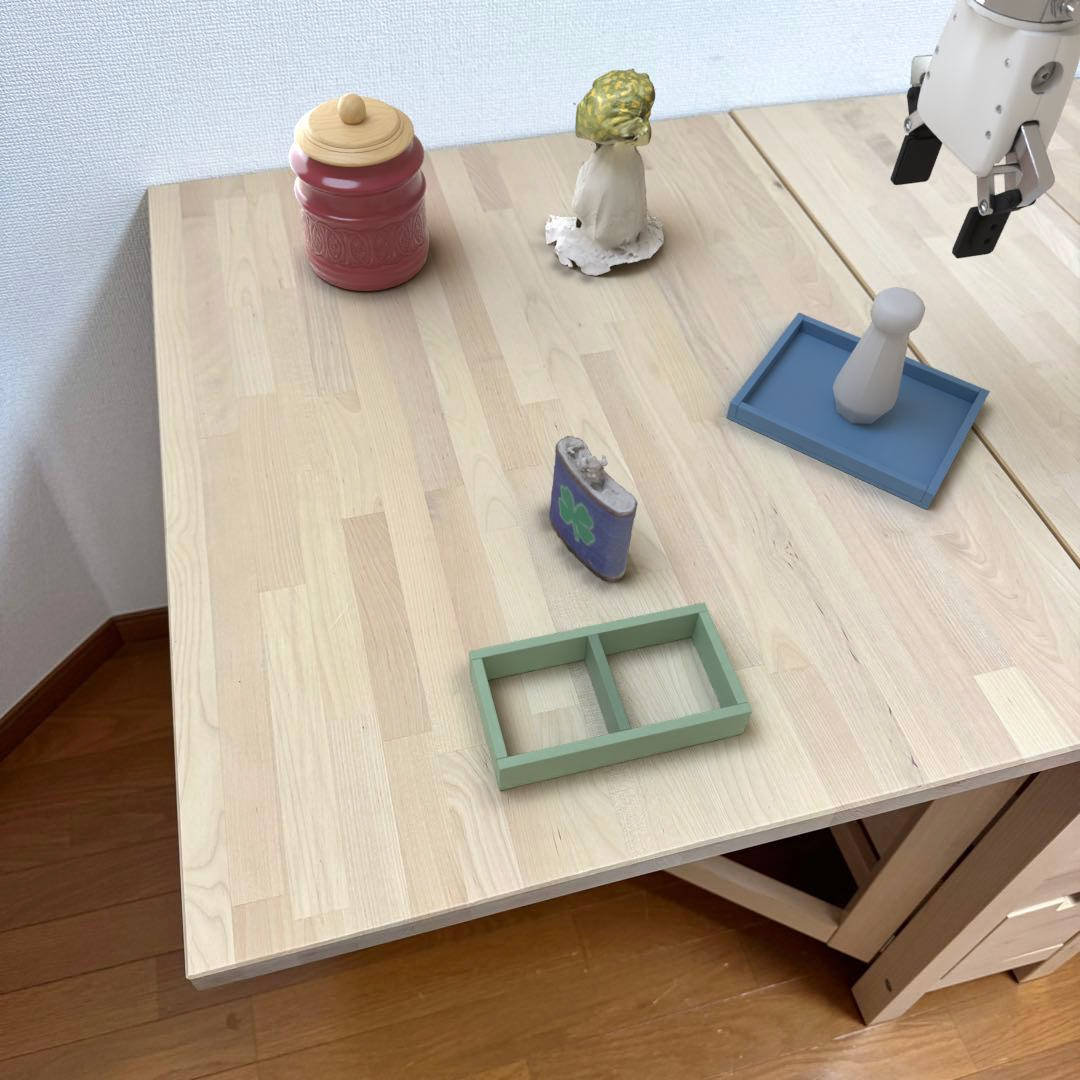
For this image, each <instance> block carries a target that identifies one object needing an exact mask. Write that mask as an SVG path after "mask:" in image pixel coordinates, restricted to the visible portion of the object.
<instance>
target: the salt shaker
mask: <svg viewBox="0 0 1080 1080" xmlns="http://www.w3.org/2000/svg"><path fill="white" fill-rule="evenodd" d="M925 313H926V306H925V303H924V300H923V299H922V297H920V296H919V295H918V294H917V293H916V292H914V291H913V290H910V289H908V288H905V287H900V286H895V287H888V288H885V289H883V290H881V291H879V292H878V293H877V294H876V296H875V298H874V299H873V302H872V304H871V308H870V313H869V314H870V319H871V322H870V324H869V326H868V327H867V328H866V330H865V332H864V333H863V334H862V336H861V337H860V338H861V339H860V341H859V343H858V344H857V346H856V347H855V349H854V350H853V352H852V354H851V355H850V357H849V358H848V360H847V361H846V363H845V365H844V366H843V368H842V369H841V371H840V372H839V374H838V375H837V378H836V380H835V382H834V384H833V392H834V396H835V402H836V409H837V412H838V413H839V414H840V415H841V416H843V417H844V418H845V419H847V420H848V421H849V422H851V423H857V424H872V423H873V422H874V421H875V420H877V419H878V418H879V417H881V416H882V415H883V414H885V413H886V412H888V411H889V410H891V409H892V407H893V406H894V404H895V402H896V400H897V397H898V393H899V387H900V382H901V377H902V372H903V367H904V361H905V356H906V355H907V351H908V345H909V339H910V334H911V333H912V332H914V331H915V330H917V329H918V328H919V327H920V325H921V323H922V321H923V318H924V316H925ZM906 357H907V356H906Z"/></svg>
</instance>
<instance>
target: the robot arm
mask: <svg viewBox="0 0 1080 1080" xmlns="http://www.w3.org/2000/svg"><path fill="white" fill-rule="evenodd" d="M1079 62H1080V0H956V2H955V4H954V5H953V8H952V9H951V12H950V14H949V16H948V18H947V21H946V22H945V24H944V27H943V29H942V32H941V34H940V36H939V38H938V41H937V44H936V46H935V48H934V51H933V53H932V54H923V55H914V56H913V58H912V59H911V65H910V81H909V84H910V85H911V86H910V87H909V88H908V90H907V94H906V101H907V111H908V115H907V116H906V117H905V119H904V121H903V130H904V133H906V134H905V135H904V138H903V140H902V142H901V146H900V149H899V152H898V155H897V158H896V161H895V164H894V167H893V170H892V172H891V176H890V179H889V180H890V182H891V183H892V184H893V185H894V186H903V185H910V184H917V183H926V182H928V181H929V180H930V178H931V176H932V172H933V170H934V168H935V165H936V162H937V159H938V156H939V155H940V151H941V149H942V146H943V145H944V146H945V147H946V148H947V149H948V150H949V151H950V152H951V153H952V154H953V156H954V157H955V158H956V159H957V160H958V161H959V162H960V163H961V164H962V165H963V166H964V168H966V169H967V170H968V171H970V173H972V174H973V175H975V176H976V195H977V197H976V199H977V205H976V206H972V207H969V209H968V211H967V214H966V216H965V218H964V220H963V223H962V225H961V227H960V229H959V232H958V234H957V237H956V240H955V242H954V244H953V246H952V248H951V249H952V250H951V253H952V255H953V257H954V258H955V259H965V258H970V257H978V256H986V255H989V254H991V253H993V252H994V250H995V248H996V246H997V244H998V242H999V239H1000V238H1001V235H1002V233H1003V232H1004V229H1005V226H1006V224H1007V222H1008V220H1009V218H1010V215H1011V213H1015V212H1019V211H1021V209H1024V208H1028V207H1031V206H1033V205H1034V204H1035V203H1036V202H1037V200H1038V199H1039V198H1041V197H1042V196H1043V195H1044V194H1046V193H1047V192H1048V191H1049V190H1050V189H1051V188H1052V187H1054V185H1055V182H1056V181H1055V180H1056V178H1055V174H1054V170H1053V167H1052V164H1051V162H1050V158H1049V155H1048V153H1047V152H1048V151H1047V150H1048V148H1049V145H1050V143H1051V141H1052V138H1053V136H1054V133H1055V132H1056V129H1057V126H1058V123H1059V121H1060V118H1061V116H1062V113H1063V111H1064V109H1065V105H1066V103H1067V100H1068V97H1069V94H1070V92H1071V90H1072V89H1071V88H1072V86H1073V83H1074V79H1075V77H1076V74H1077V69H1078V66H1079ZM1004 158H1005V164H999V163H1000V162H1001V161H1002V160H1003V159H1004ZM997 164H998V165H997ZM996 176H1003V177H1004V178H1003V179H1004V181H1003V183H1004V191H1002V192H999V193H997V194H996V188H995V187H996V186H995V177H996Z"/></svg>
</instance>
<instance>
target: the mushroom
mask: <svg viewBox="0 0 1080 1080" xmlns="http://www.w3.org/2000/svg"><path fill="white" fill-rule="evenodd" d="M656 91H657V88H655V86H654V84H653V82H652V81H651V79H650V75H649V74H648V73H646V72H642V73H640V72H637V71H635V68H629V69H626V70H623V69H613V70H610V71H608V72H606V73H604V74H603V75H601V76H599V77H597V78H596V79H595V80H593V82H592V87H591V88H590V90H589V91H588V92H587V93H586V94H585V95H584V96H583V98H582V99H581V101H580V102H579V103H578V104H577V103H576V102H573V103H572V104H573V105H576V104H577V105H576V112H575V127H574V129H575V130H574V131H575V132H574V133H575V136H576V138H578V139H583V140H587V141H590V142H592V143H593V144H590V146H589V148H591V146H592V147H593V145H594V147H593V150H592V152H591V154H590V155H589V157H588V158H587V159H586V160H585V161H584V163H583V164H582V166H581V167H580V168H579V170H578V173H577V177H576V182H575V185H574V192H573V197H572V203H571V210H572V212H573V213H574V215H575V216H569V215H568V216H560V215H557V216H556V215H554V214H549V218H548V219H547V220H545V244H546V245H549V244H552V243H554V242H555V241H556V243H555V244H556V245H555V246H554V249H553V251H552V252H553V253H556V255H557V257H558V260H559V263H560V264H561V265H564V266H568V268H573V266H574V265H573V263H572V261H573V262H574V263H575V265H576V266H578V267H579V268H580V271H581V272H582V273H583V274H584V275H587V276H594V277H596V276H599V275H603V274H606V273H608V272H610V271H611V270H612V269H611V268H610V267H612V266H615V265H616V266H617V265H621V264H626V263H627V264H631V263H635V262H636V263H637V262H639V261H641V260H646V259H652V256H653V255H655V253H657V251H658V250H660V248H661V247H662V245H664V239H665V237H664V232H663V227H664V224H663V222H662V221H661V220H660V219H659V217H656V216H651V217H650V216H649V214H648V201H647V185H646V173H645V172H646V171H645V169H646V167H645V164H644V161H643V157H642V155H641V153H640V151H639V150H638V148H637V147H644V146H648V145H649V144H650V142H651V139H652V126H651V123H650V121H649V119H650V117H651V116H652V108H653V106H654V104H655V101H656ZM585 145H586V146H588V143H585ZM647 151H648V152H649V151H650V150H649V149H648V150H647ZM580 224H581V225H580ZM579 225H580V227H578V226H579Z"/></svg>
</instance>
